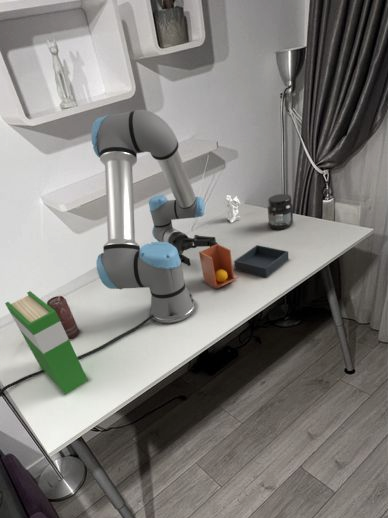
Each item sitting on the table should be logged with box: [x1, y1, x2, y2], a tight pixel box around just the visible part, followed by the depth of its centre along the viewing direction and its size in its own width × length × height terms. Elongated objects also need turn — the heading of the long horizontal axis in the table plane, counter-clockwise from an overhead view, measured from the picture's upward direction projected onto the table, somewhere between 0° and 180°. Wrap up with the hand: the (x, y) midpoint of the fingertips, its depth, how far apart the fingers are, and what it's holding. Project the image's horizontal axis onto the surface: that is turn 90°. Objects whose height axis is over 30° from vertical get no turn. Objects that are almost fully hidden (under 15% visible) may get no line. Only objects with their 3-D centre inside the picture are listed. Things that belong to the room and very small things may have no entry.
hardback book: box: [5, 290, 89, 395], centre depth 112 cm, size 18×7×24 cm, turn 41°
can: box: [46, 295, 80, 341], centre depth 132 cm, size 6×6×14 cm
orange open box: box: [198, 243, 239, 290], centre depth 142 cm, size 12×8×12 cm
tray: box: [233, 244, 289, 278], centre depth 149 cm, size 14×14×4 cm
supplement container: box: [267, 193, 294, 231], centre depth 172 cm, size 10×10×12 cm
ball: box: [215, 269, 228, 282], centre depth 144 cm, size 5×5×5 cm
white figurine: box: [224, 194, 241, 223], centre depth 186 cm, size 8×7×12 cm
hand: (204, 255), depth 147 cm, fingers open, 13 cm apart
